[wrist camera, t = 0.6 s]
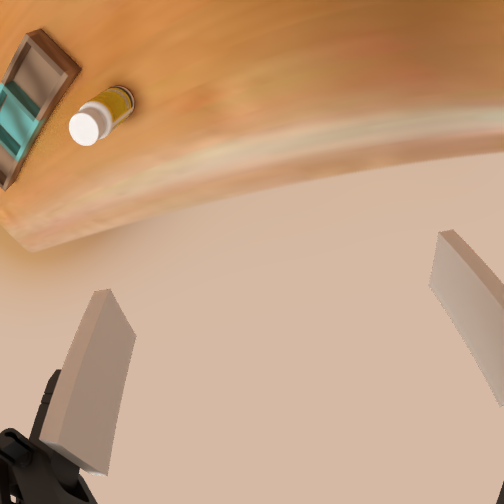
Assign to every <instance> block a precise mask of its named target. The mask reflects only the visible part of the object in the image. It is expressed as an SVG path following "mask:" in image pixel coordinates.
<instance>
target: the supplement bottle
mask: <svg viewBox="0 0 504 504" xmlns="http://www.w3.org/2000/svg"><path fill="white" fill-rule="evenodd" d="M133 109H134V98H133V96H132V94H131V93H130V91H129V90H128V89H126V88H124V87H122V86H113V87H110V88H108V89H107V90H105V91H103V92H102V93H100V94H99V95H97V96H96V97H94V98H93V99H91V100H90V101H88V102H87V103H85V104H84V105H83V106H82V107H81V108H80V110H79V111H78V112H77V113H76V114H75V115H74V116H73V117H72V118H71V120H70V123H69V131H70V134H71V136H72V138H73V139H74V140H75V141H76V142H77V143H79V144H81V145H84V146H89V145H92V144H94V143H95V142H96V141H97V140H99V139H102V138H104V137H106V136H107V135H108V134H110V133H111V132H112V131H113V130H114V129H115V128H116V127H117V126H119V125H120V124H121V123H122V122H123V121H124V120H125V119H127V118H128V117H129V116H130V115H131V113H132V112H133Z"/></svg>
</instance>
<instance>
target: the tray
mask: <svg viewBox="0 0 504 504" xmlns="http://www.w3.org/2000/svg"><path fill="white" fill-rule="evenodd" d="M80 71H81V68H80V67H79V66H78V65H77V64H76V63H75V62H74V61H73V60H72V59H71V58H70V57H69V56H68V55H67V54H66V53H65V52H64V51H63V50H62V49H61V48H60V47H59V46H58V45H57V44H56V43H55V42H54V41H53V40H52V39H51V38H50V37H49V36H48V35H47V34H46V33H45V32H44V31H43V30H42V29H39V30H35V31H32V32H29V33H26V35H25V36H24V38H23V40H22V42H21V43H20V45H19V47H18V49H17V51H16V53H15V55H14V57H13V59H12V61H11V63H10V65H9V67H8V69H7V71H6V73H5V75H4V77H3V79H2V82H1V84H0V187H1V188H2V189H3V190H4V191H6V190H7V189H8V188H9V187H10V186H11V185H12V184H13V183H14V182H15V180H16V178H17V175H18V173H19V171H20V169H21V167H22V165H23V163H24V161H25V159H26V157H27V155H28V153H29V152H30V150H31V148H32V146H33V144H34V142H35V140H36V139H37V137H38V135H39V133H40V132H41V130H42V128H43V126H44V125H45V123H46V121H47V120H48V118H49V116H50V115H51V113H52V112H53V110H54V108H55V107H56V105H57V104H58V102H59V101H60V99H61V98H62V96H63V95H64V93H65V92H66V90H67V89H68V87H69V86H70V85H71V83H72V82H73V80H74V79H75V77H76V76H77V75H78V73H79V72H80Z"/></svg>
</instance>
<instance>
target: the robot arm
mask: <svg viewBox="0 0 504 504" xmlns="http://www.w3.org/2000/svg"><path fill="white" fill-rule="evenodd" d="M429 287H430V288H431V290H432V291H433V293H434V294H435V296H436V297H437V299H438V300H439V301H440V303H441V305H442V306H443V308H444V309H445V311H446V312H447V314H448V316H449V317H450V319H451V320H452V322H453V323H454V325H455V327H456V328H457V330H458V331H459V333H460V334H461V336H462V338H463V340H464V341H465V343H466V345H467V347H468V348H469V350H470V352H471V353H472V355H473V357H474V359H475V361H476V362H477V364H478V366H479V368H480V370H481V371H482V373H483V375H484V377H485V379H486V380H487V382H488V384H489V386H490V388H491V390H492V392H493V394H494V396H495V398H496V400H497V402H498V404H499V406H500V407H501V406H503V405H504V284H503V283H502V282H501V281H500V280H499V279H498V277H497V276H496V275H495V274H494V273H493V272H492V270H491V269H490V268H489V267H488V266H487V265H486V264H485V263H484V262H483V260H482V259H481V258H480V257H479V256H478V255H477V254H476V253H475V252H474V251H473V250H472V249H471V247H470V246H469V245H468V244H467V243H466V242H465V241H464V240H463V239H462V238H461V237H460V236H459V235H458V234H457V233H456V232H455V231H454V230H449V231H444V232H439V233H438V240H437V245H436V252H435V256H434V262H433V267H432V272H431V277H430V281H429ZM135 339H136V334H135V333H134V331H133V329H132V328H131V326H130V324H129V322H128V321H127V319H126V317H125V315H124V313H123V312H122V310H121V308H120V306H119V304H118V303H117V301H116V299H115V297H114V295H113V293H112V291H111V289H107V290H99V291H95V292H94V294H93V296H92V298H91V300H90V303H89V305H88V307H87V309H86V311H85V314H84V316H83V318H82V320H81V323H80V325H79V327H78V330H77V332H76V334H75V337H74V340H73V342H72V344H71V347H70V349H69V352H68V354H67V357H66V360H65V362H64V365H63V368H62V370H56V371H55V372H54V374H53V375H52V377H51V378H50V379H49V381H48V384H47V386H46V389H45V392H44V393H45V395H43V397H42V400H41V405H40V406H39V409H38V412H37V415H36V418H35V422H34V425H33V428H32V431H31V434H30V437H29V440H28V439H27V438H25V437H24V436H23V435H22V434H20V433H19V432H18V431H17V430H15V429H13V428H8V429H5V430H4V431H2V432H1V433H0V504H97V502H96V500H95V498H94V497H93V495H92V493H91V491H90V490H89V488H88V486H87V484H86V482H85V481H84V479H83V477H82V476H81V475H80V474H79V470H80V468H81V469H83V470H84V471H86V472H88V473H90V474H95V475H102V476H108V469H109V462H110V457H111V451H112V445H113V440H114V434H115V429H116V423H117V418H118V413H119V408H120V403H121V399H122V394H123V389H124V385H125V380H126V376H127V372H128V367H129V363H130V359H131V355H132V351H133V347H134V343H135ZM10 494H11V495H13V496H15V497H16V503H14V502H12V501H11V496H10ZM496 504H504V482H503V485H502V488H501V491H500V495H499V497H498V500H497V503H496Z"/></svg>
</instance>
